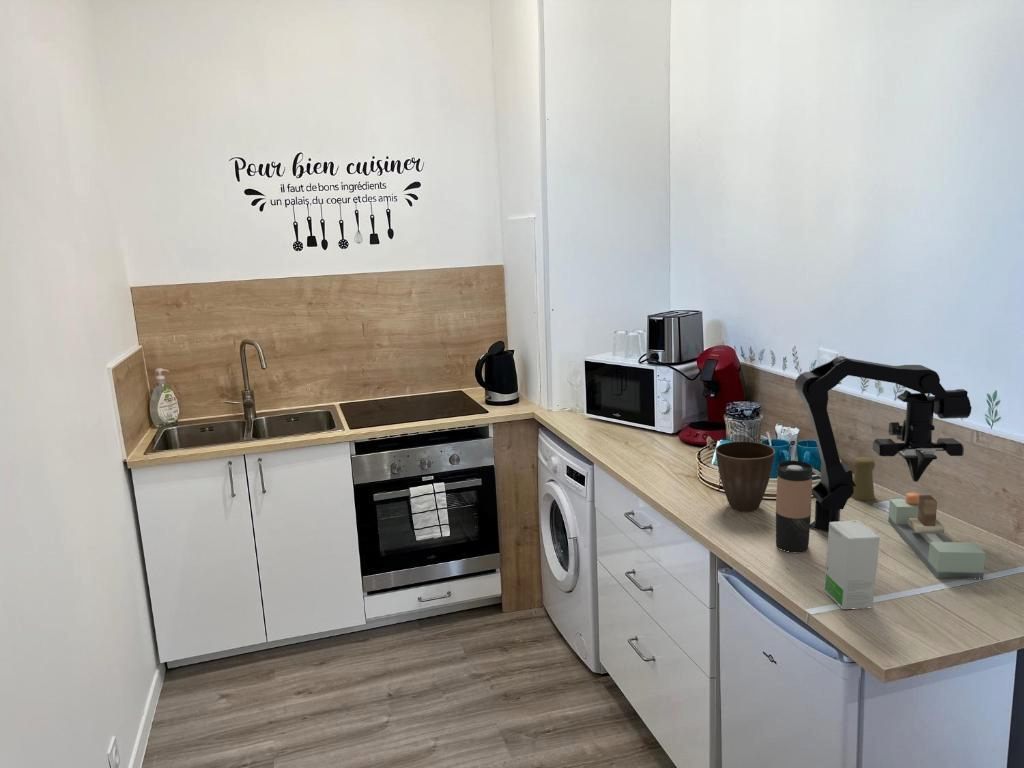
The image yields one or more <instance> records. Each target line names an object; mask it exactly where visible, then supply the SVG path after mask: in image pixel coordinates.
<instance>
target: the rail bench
mask: <svg viewBox="0 0 1024 768" xmlns="http://www.w3.org/2000/svg"><path fill="white" fill-rule="evenodd" d="M918 507H919V505H910V504H907V503H906V498H904V499H903V498H902V499H901V498H897V499H896V498H895V499H894V498H890V499H889V507H888V508H889V509H888V521H887V522H888V523H889V525H890V526H891V527H892V528H893V529H894V530H895V532H896V533H897V534H898V535H899V536H900V537H901V539H902V540H903V541H904V542H905V543H906V544H907V545H908V547H909V548H910V549H911V550H912V551H913V552H914V553H915V555H916V556H917V557H918V558H919V559H920V561H921V562H922V563H923V564H924V566H925V567H926V568H927V569H928V570H929V571H930V572H931V573H932V575H933V576H935V578H936V579H946V580H947V579H951V580H954V578H955V579H956V578H973V579H972V580H984V572H985V563H986V551H984V550H983V549H982V547H980V546H979V545H978V544H977V543H976V542H965V541H964V542H960V541H959V542H957V541H956V542H953V540H952V539H950V538H949V537H948V535H946V534H945V532H944V533H916V532H915V531H914V530H913V529H912V528H911V527H910V525H909V524H908V520H909V518H918ZM937 512H938V511H936V513H937ZM974 578H976V579H974ZM979 578H980V579H979ZM956 580H957V579H956Z"/></svg>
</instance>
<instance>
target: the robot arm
mask: <svg viewBox="0 0 1024 768" xmlns="http://www.w3.org/2000/svg"><path fill="white" fill-rule="evenodd" d="M848 376H849V377H850V376H851V377H856V378H861V379H862V378H863V379H867V380H874V381H875V380H876V381H879V382H880V381H881V382H885V383H892V384H897V385H899V386H902V387H904V388H907V389H909V390H912V391H914V392H915V391H916V392H915V393H914V392H913V393H912V392H911V391H909V390H907V389H906V390H904V391H903V392H902V393H901V394H899V395H898V396H896V397H897V399H898V400H900V402H903V403H906V411H905V412H906V413H905V419H904V420H903V422H902V423H903V424H902V425H900V422H899V421H898V422H897V421H895V422H891V421H890V422H889V423H888V435H889V436H896V440H900V441H901V442H895V441H894V440H893V439H891V438H875V439H874V441H873V442H872V450H873V451H874V452H875V453H876V454H877V455H878V456H880V457H895V456H897V454H898V455H899V456H901V457H902V458H903V459H904V460H905V462H906V464H907V467H908V470H909V473H910V476H911V479H912V481H913V482H914V483H918V481H919V480H920V479H921V477H922V475H923V474H924V472H925V471H926V469H927V468H928V466H929V465H930V464H931V463H932V462H933V460H938V456H937V455H936V452H937V451H938V452H939V451H940V452H946V453H947V454H948V456H950V457H963V456H964V453H965V447H964V445H963V444H962V443H961V442H959V441H958V440H957V439H956V438H953V437H952V438H951V437H949V438H948V437H946V438H943V437H941V438H940V437H939V438H937V440H936V442H933V441H932V439H933V431H935V428H936V427H935V425H934V414H935V415H937V417H938V418H939V419H940V420H941V419H942V420H943V419H968V418H970V415H971V413H972V409H973V408H972V407H973V406H972V405H971V401H970V397H969V396H968V390H966V389H963V388H957V389H953V390H952V389H949V390H947V389H945V388H944V387H943V385H942V384H941V381H940V380H941V379H940V375H939V374H938V372H937V371H935V370H933V369H931V368H928V367H926V366H925V365H922V364H903V365H890V364H886V363H885V364H884V363H878V362H874V361H873V362H871V361H866V360H860V359H854V358H850V357H846V356H843V355H840V356H836V357H835V358H833V359H832V360H829V361H828V362H825V363H824V364H821V365H819V366H816V367H815V368H813V369H811V370H810V371H805V372H802V373H800V374H799V375H798V376H797V377H796V379H795V381H794V383H795V384H794V385H795V389H796V392H797V393H798V395H799V397H800V399H801V400H802V403H803V405H804V406H805V408H806V409H807V412H808V416H809V420H810V423H811V426H812V431H813V435H814V438H815V442H816V446H817V450H818V453H819V454H818V455H819V457H820V461H821V465H820V466H821V467H820V481H819V482H818V483H817V484H816V485H815V486H813V487H812V496H813V498H814V499H815V505H814V507H815V508H814V520H813V522H810V529H811V528H812V529H815V530H819V531H823V532H828V533H829V522H838V521H841V510H844V508H845V506H846V504H847V502H848V500H849V499H850V498H851V496H852V495H853V493H854V487H853V486H856V485H855V483H854V481H853V479H854V475H853V471H852V469H850V468H849V466H847V465H846V464H845V463H844V462H842V463H841V458H840V454H839V451H838V448H837V442H836V439H835V436H834V432H833V428H832V424H831V420H830V417H829V412H828V404H829V391H830V390H832V389H833V388H835V387H837V385H838V384H839V383H840V382H842V380H844V378H846V377H848ZM917 392H918V393H917ZM928 394H931V395H930V396H929V395H928ZM926 395H927V396H926Z"/></svg>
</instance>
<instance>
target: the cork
mask: <svg viewBox="0 0 1024 768" xmlns="http://www.w3.org/2000/svg"><path fill="white" fill-rule="evenodd" d="M875 464H876V463H875V461H874V459H872V458H871V457H867V456H859V457H856V458H855V459H854V460H853V468H854V469H855V470H854V475H853V481H854V483H855V485H856V486H853V487H854V493H853V495H852V496H851V497H850V498H851V499H854V500H856V501H861V502H871V501H874V500H875V499H876V498H875V488H874V479H873V476H874V475H873V470H875V467H876V465H875Z"/></svg>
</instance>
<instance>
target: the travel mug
mask: <svg viewBox="0 0 1024 768" xmlns="http://www.w3.org/2000/svg"><path fill="white" fill-rule="evenodd" d="M812 488H813V465H812V464H810V463H808V462H805V461H802V460H783V461H781V462H779V463H778V464H777V478H776V497H775V499H776V502H775V546H776V548H777V547H778V548H780V549H782V550H785V551H789V552H802V553H805V552H807V551H808V550H809V544H810V543H809V542H810V530H811V527H810V524H811V521H812V519H811V517H812V496H813V494H812ZM778 548H777V549H778ZM780 549H779V550H780ZM807 549H808V550H807ZM782 550H781V551H782ZM806 550H807V551H806ZM785 551H784V552H785ZM804 551H805V552H804ZM789 552H788V553H789Z"/></svg>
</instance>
